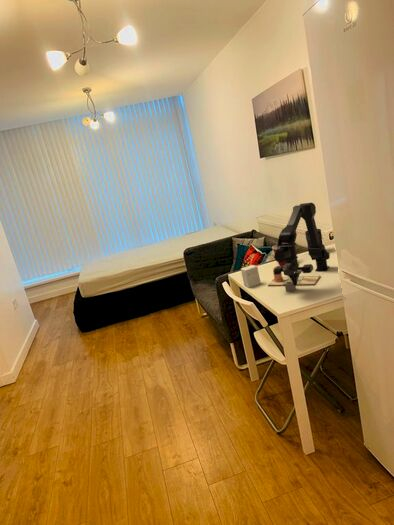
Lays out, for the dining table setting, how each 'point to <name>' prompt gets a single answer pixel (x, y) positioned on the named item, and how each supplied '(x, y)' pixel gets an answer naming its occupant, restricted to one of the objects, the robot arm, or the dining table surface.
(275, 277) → the pawn
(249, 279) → the small box
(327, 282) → the dining table surface
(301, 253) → the dining table surface
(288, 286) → the die
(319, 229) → the storage jar
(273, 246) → the plastic cup
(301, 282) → the board
